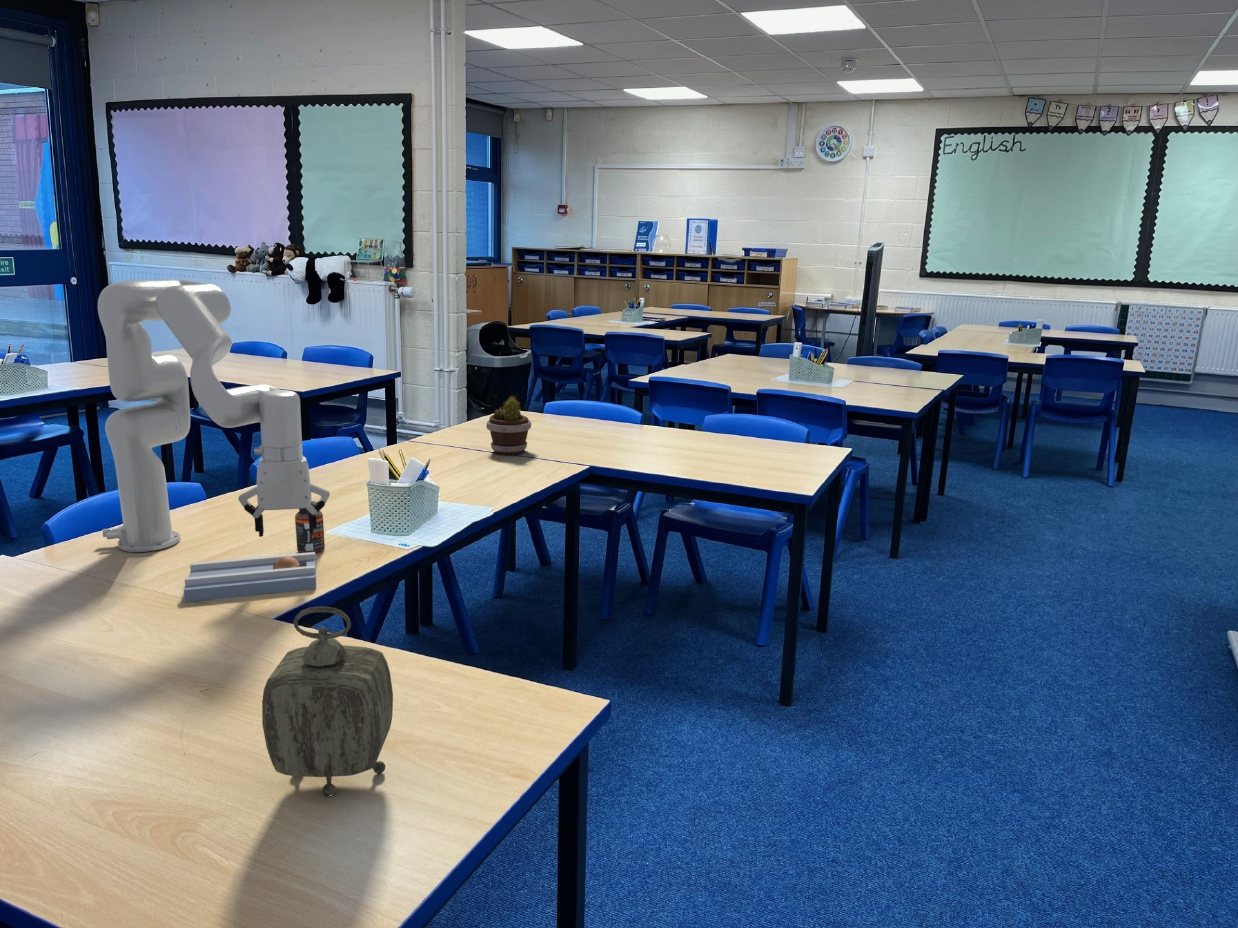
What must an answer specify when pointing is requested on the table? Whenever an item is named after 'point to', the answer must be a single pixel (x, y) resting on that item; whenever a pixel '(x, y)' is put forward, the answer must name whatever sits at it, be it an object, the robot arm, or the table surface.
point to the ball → (286, 563)
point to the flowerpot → (509, 429)
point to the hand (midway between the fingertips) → (286, 533)
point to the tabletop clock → (327, 707)
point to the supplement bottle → (303, 535)
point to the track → (248, 577)
